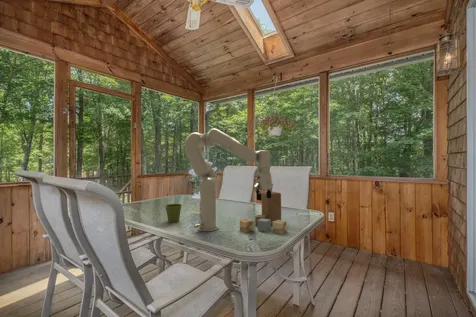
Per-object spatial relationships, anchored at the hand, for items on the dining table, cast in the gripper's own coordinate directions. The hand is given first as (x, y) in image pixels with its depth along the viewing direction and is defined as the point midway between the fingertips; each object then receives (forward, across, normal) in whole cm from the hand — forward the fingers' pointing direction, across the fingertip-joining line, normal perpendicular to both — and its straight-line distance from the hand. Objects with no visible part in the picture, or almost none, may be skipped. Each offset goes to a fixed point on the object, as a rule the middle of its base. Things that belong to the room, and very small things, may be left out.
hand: (264, 199), depth 141 cm
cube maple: (+18, +3, -9) cm, 21 cm away
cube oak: (+18, -8, +7) cm, 21 cm away
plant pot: (+18, -26, +59) cm, 67 cm away
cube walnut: (+18, +7, +8) cm, 21 cm away
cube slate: (+18, 0, 0) cm, 19 cm away
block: (+19, +17, +7) cm, 26 cm away
